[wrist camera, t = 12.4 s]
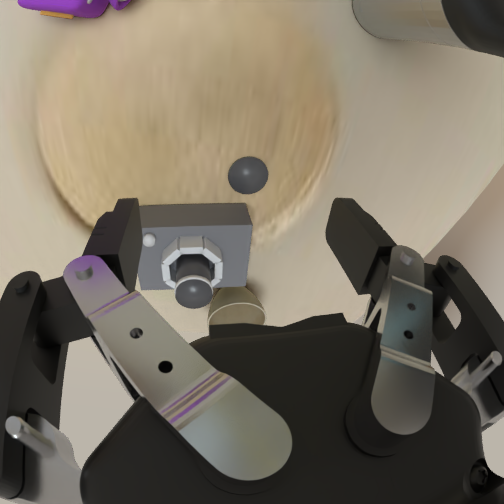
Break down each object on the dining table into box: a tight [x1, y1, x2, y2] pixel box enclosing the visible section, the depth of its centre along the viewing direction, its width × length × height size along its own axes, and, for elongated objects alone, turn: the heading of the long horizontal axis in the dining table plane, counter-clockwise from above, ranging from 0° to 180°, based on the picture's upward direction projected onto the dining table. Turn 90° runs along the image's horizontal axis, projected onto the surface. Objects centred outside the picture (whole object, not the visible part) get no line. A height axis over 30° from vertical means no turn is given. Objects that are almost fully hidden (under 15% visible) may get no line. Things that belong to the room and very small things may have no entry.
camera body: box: [138, 203, 253, 290], centre depth 42 cm, size 16×11×8 cm
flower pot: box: [208, 286, 267, 328], centre depth 51 cm, size 10×10×7 cm
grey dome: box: [228, 157, 268, 194], centre depth 41 cm, size 6×6×1 cm
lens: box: [175, 254, 213, 309], centre depth 38 cm, size 5×5×7 cm
